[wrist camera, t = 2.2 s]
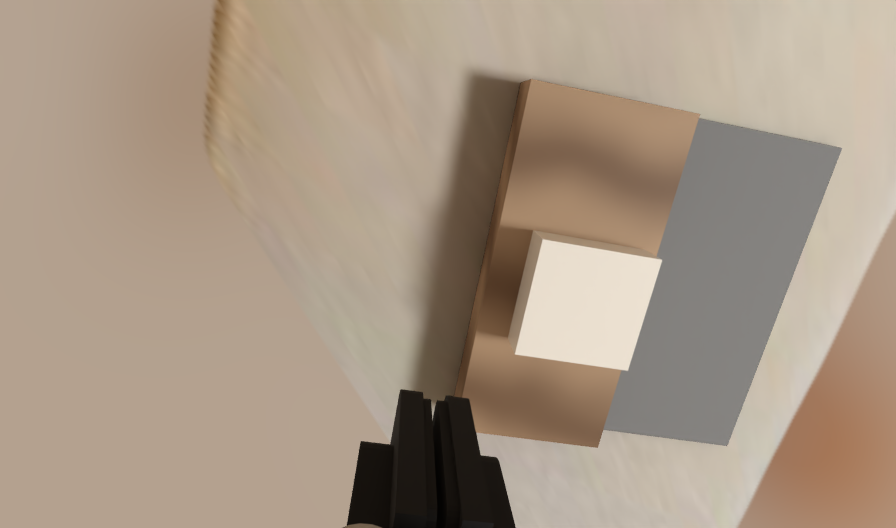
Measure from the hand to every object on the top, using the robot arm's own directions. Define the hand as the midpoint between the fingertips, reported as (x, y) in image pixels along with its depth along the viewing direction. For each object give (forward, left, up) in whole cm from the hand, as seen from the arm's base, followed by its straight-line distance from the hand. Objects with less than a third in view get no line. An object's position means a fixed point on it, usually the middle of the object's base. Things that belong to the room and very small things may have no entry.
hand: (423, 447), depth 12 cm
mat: (-1, +17, -17) cm, 24 cm away
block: (0, +8, -14) cm, 17 cm away
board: (-1, +8, -17) cm, 19 cm away
